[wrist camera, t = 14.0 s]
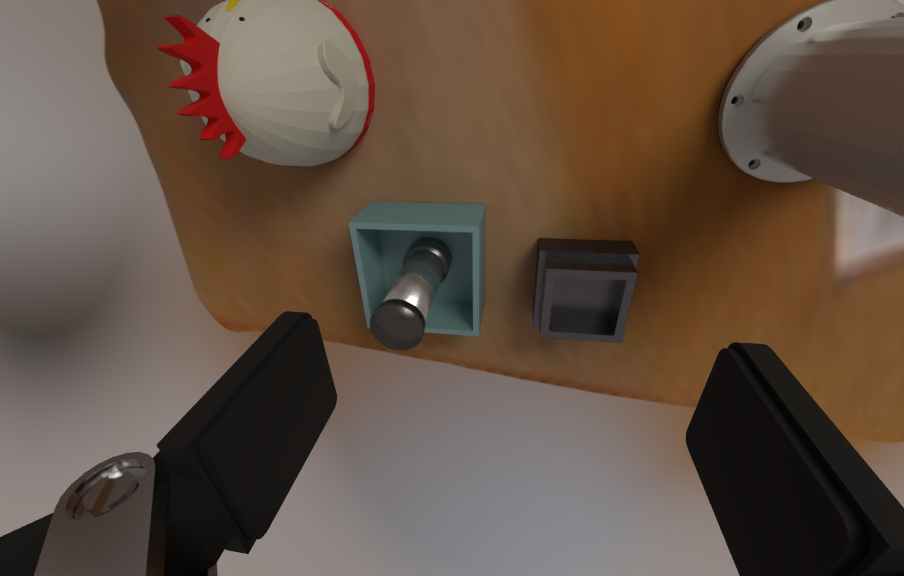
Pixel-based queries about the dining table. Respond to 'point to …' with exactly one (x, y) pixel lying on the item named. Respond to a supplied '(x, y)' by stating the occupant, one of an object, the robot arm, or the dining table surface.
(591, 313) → the square recessed block
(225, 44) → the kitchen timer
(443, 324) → the bin
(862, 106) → the robot arm
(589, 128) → the dining table surface
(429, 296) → the pepper mill
